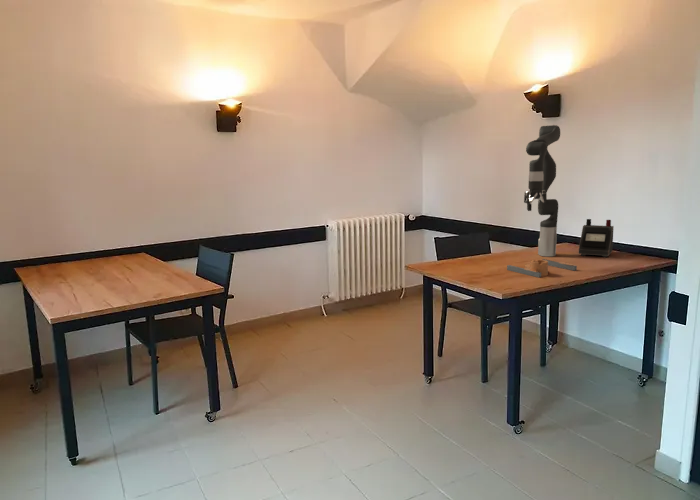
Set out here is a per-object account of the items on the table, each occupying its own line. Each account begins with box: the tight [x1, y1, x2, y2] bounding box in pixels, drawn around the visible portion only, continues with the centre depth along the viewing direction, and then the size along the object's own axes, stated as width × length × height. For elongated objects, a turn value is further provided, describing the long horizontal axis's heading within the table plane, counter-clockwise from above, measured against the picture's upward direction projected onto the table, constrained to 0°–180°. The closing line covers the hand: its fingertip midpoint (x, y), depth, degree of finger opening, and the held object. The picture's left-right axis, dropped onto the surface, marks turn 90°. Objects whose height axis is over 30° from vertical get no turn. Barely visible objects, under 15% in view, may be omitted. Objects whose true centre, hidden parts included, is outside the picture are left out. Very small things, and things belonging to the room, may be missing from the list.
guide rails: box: [506, 258, 578, 278], centre depth 289 cm, size 22×27×3 cm
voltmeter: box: [578, 218, 614, 259], centre depth 323 cm, size 16×16×20 cm
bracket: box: [524, 259, 549, 277], centre depth 285 cm, size 18×8×7 cm, turn 178°
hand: (535, 210), depth 298 cm, fingers open, 8 cm apart
